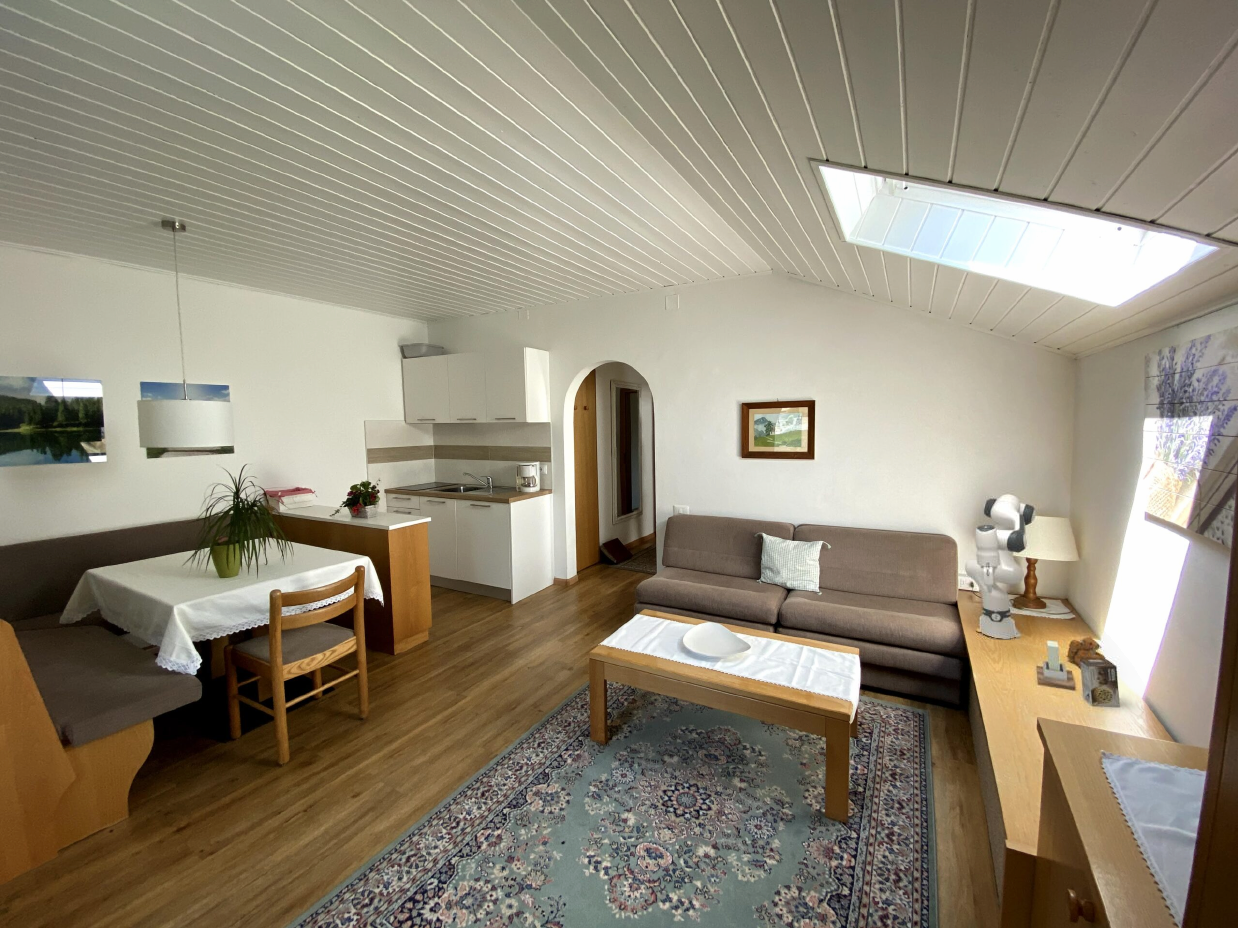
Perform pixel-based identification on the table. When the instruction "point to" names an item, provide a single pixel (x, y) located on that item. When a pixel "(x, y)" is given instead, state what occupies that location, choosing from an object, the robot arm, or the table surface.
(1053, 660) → the pale green rectangular block
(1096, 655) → the stuffed squirrel
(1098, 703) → the coffee box
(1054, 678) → the wooden base with socket
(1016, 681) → the table surface
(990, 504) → the robot arm
